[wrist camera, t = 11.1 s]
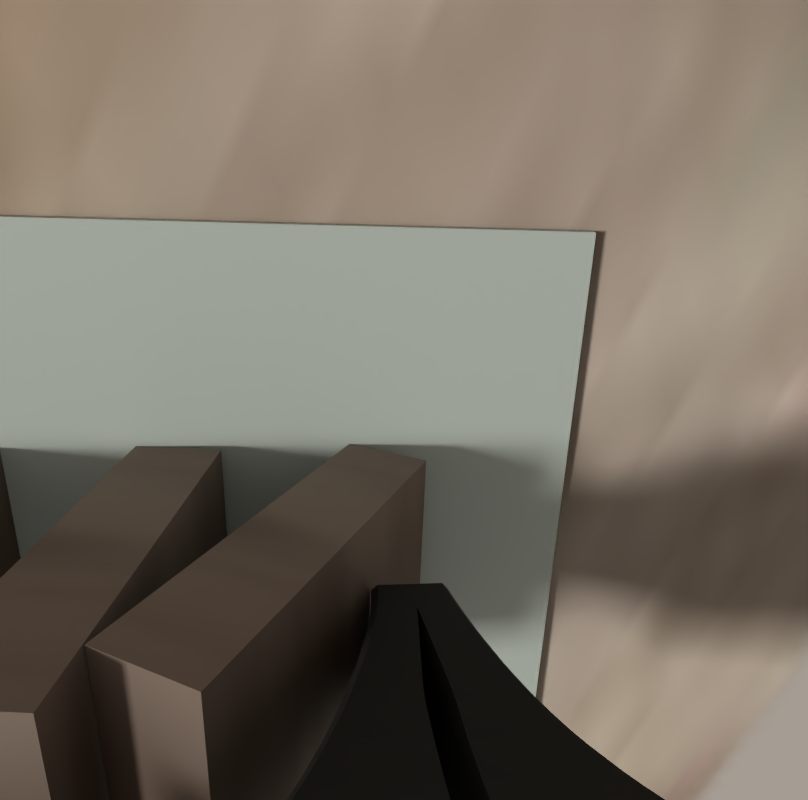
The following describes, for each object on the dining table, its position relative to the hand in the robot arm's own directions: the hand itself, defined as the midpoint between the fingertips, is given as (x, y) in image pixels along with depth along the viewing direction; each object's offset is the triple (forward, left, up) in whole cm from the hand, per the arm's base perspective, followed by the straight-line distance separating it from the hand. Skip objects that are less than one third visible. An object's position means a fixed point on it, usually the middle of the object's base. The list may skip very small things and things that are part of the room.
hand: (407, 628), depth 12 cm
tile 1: (0, 0, -3) cm, 3 cm away
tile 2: (0, +5, -3) cm, 5 cm away
